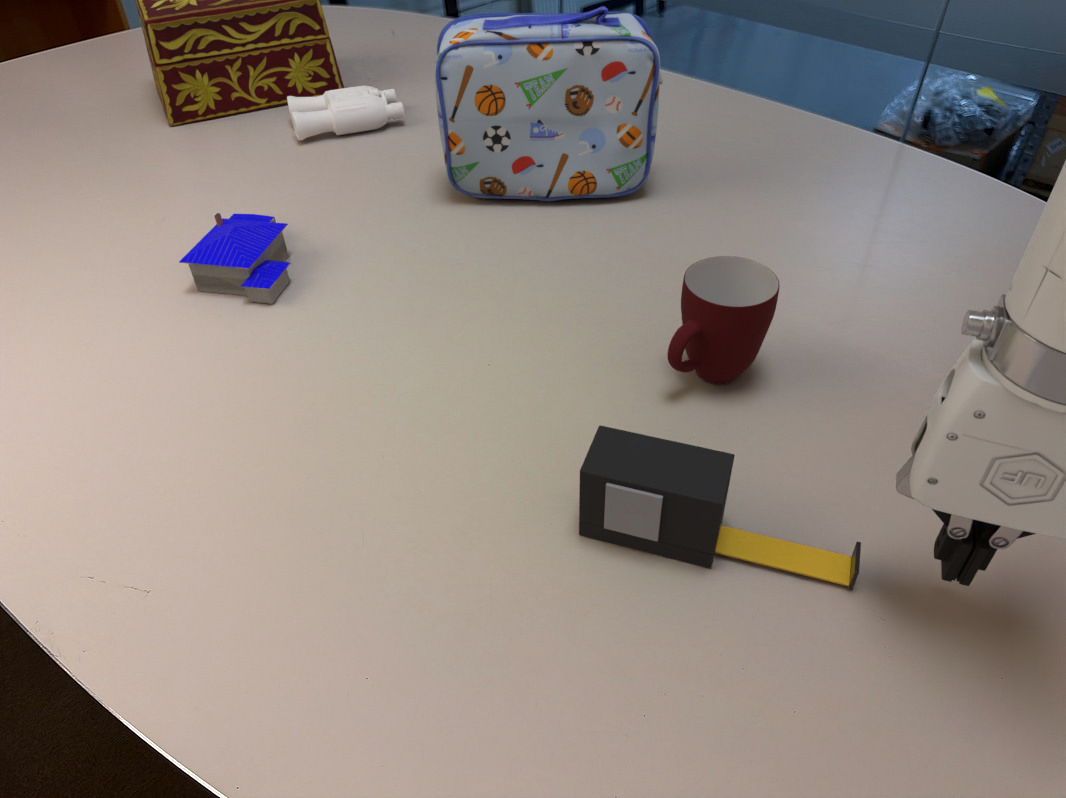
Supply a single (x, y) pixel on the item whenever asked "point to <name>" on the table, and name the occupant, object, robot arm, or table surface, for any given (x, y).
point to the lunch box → (547, 104)
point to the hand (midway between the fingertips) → (954, 566)
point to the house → (241, 258)
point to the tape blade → (790, 556)
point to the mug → (723, 317)
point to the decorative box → (236, 54)
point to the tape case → (654, 495)
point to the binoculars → (343, 111)
